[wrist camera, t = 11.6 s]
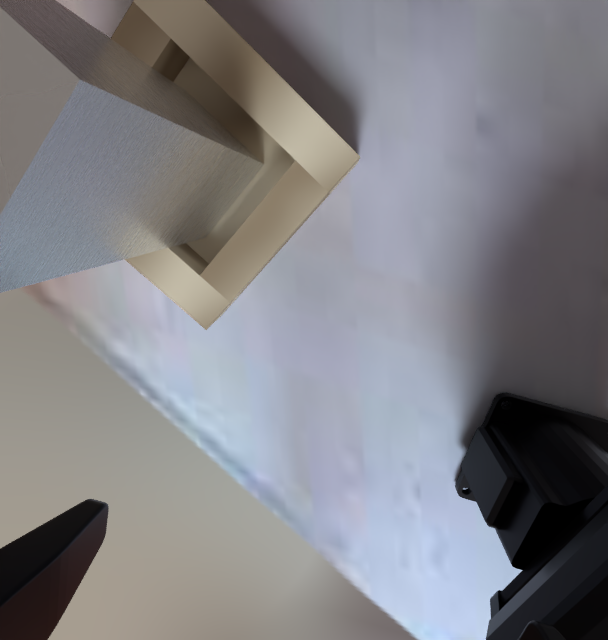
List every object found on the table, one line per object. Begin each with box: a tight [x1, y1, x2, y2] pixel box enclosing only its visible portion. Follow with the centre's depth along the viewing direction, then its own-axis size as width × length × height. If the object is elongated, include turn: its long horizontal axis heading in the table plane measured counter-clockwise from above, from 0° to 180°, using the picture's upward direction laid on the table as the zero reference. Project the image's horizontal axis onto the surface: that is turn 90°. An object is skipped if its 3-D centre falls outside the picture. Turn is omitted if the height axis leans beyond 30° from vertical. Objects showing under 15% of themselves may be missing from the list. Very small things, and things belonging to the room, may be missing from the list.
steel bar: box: [0, 0, 264, 293], centre depth 12 cm, size 4×4×13 cm
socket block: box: [111, 0, 360, 330], centre depth 18 cm, size 10×10×3 cm
